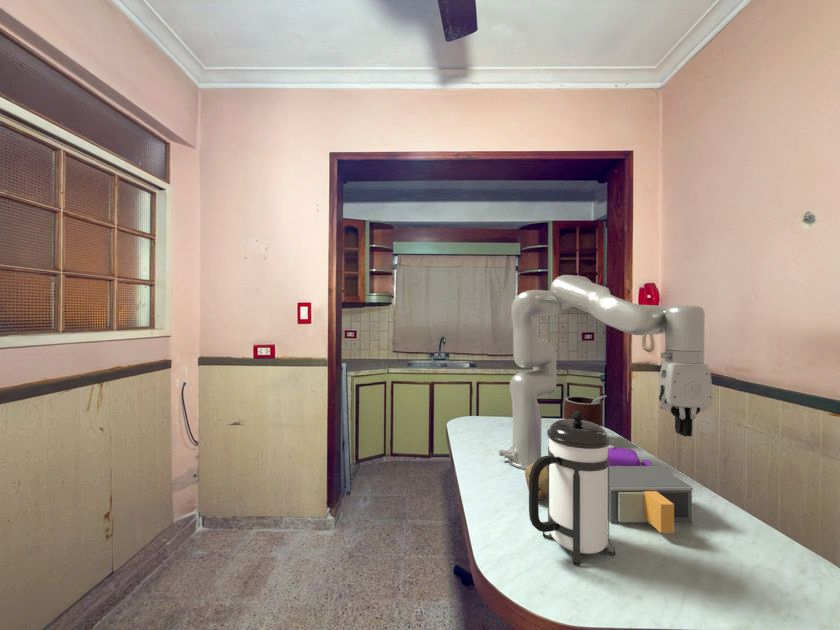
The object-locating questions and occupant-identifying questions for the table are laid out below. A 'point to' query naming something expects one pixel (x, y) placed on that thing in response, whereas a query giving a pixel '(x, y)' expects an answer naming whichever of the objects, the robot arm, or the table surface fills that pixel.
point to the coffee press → (574, 487)
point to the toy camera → (624, 457)
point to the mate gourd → (584, 408)
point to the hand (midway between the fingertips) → (683, 434)
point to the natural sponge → (542, 480)
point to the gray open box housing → (650, 489)
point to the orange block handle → (646, 509)
